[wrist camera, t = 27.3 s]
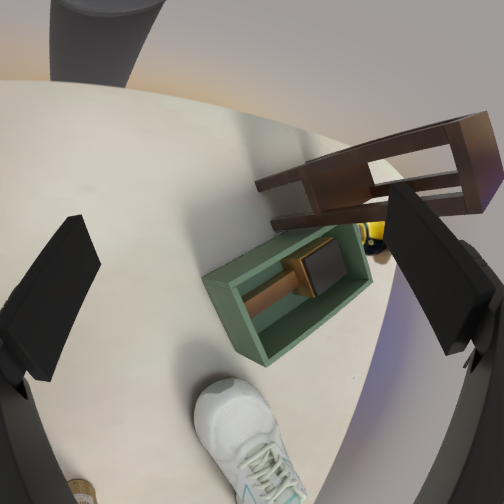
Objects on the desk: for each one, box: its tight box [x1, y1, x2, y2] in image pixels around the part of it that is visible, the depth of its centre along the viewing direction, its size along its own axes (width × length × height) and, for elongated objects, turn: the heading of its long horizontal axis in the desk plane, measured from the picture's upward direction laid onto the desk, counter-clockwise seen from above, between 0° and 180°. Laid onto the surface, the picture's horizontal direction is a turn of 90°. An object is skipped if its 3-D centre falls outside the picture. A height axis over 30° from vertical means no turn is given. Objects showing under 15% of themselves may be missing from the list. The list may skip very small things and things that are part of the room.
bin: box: [201, 223, 373, 367], centre depth 44 cm, size 12×22×8 cm, turn 115°
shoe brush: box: [241, 237, 347, 319], centre depth 44 cm, size 6×17×5 cm, turn 116°
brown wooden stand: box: [255, 111, 504, 231], centre depth 36 cm, size 8×12×30 cm, turn 115°
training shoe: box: [194, 377, 308, 504], centre depth 38 cm, size 12×33×13 cm, turn 20°
